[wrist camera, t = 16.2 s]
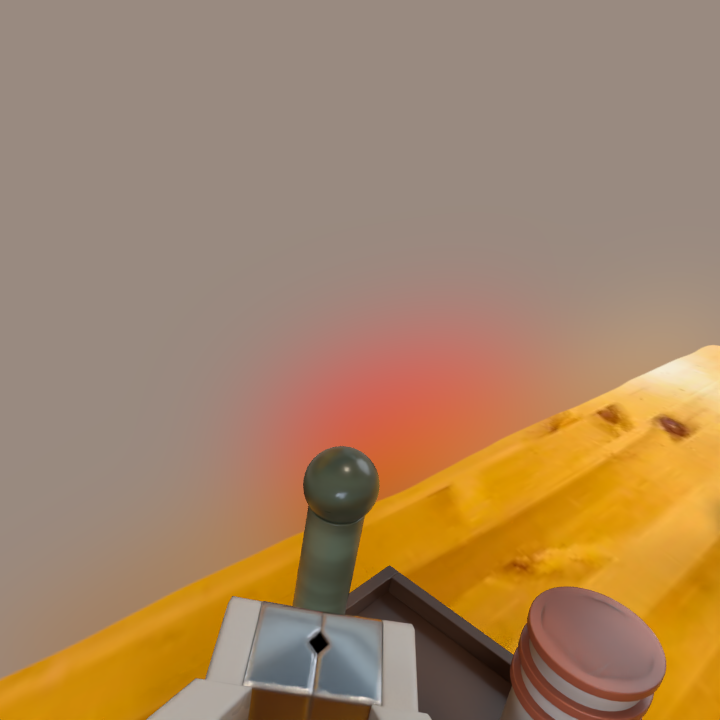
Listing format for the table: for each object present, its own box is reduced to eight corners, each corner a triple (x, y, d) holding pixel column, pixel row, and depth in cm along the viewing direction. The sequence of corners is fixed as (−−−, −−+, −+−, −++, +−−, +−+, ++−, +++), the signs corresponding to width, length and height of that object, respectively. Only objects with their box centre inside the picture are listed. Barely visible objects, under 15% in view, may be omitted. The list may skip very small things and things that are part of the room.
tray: (480, 1333, 18) (683, 1066, 12) (101, 795, 30) (103, 509, 23) (690, 818, 33) (832, 575, 27) (384, 588, 44) (432, 377, 38)
